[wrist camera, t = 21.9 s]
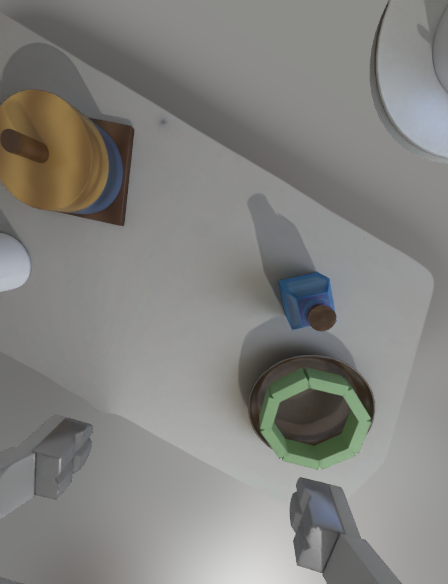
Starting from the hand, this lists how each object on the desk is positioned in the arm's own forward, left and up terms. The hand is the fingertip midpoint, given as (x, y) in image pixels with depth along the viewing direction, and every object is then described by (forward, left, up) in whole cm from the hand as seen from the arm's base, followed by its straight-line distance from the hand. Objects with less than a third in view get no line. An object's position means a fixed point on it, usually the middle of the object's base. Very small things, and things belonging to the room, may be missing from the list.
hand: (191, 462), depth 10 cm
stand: (+27, -13, -33) cm, 45 cm away
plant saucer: (-17, +17, -33) cm, 41 cm away
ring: (-17, +17, -28) cm, 37 cm away
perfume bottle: (-11, -1, -33) cm, 35 cm away
